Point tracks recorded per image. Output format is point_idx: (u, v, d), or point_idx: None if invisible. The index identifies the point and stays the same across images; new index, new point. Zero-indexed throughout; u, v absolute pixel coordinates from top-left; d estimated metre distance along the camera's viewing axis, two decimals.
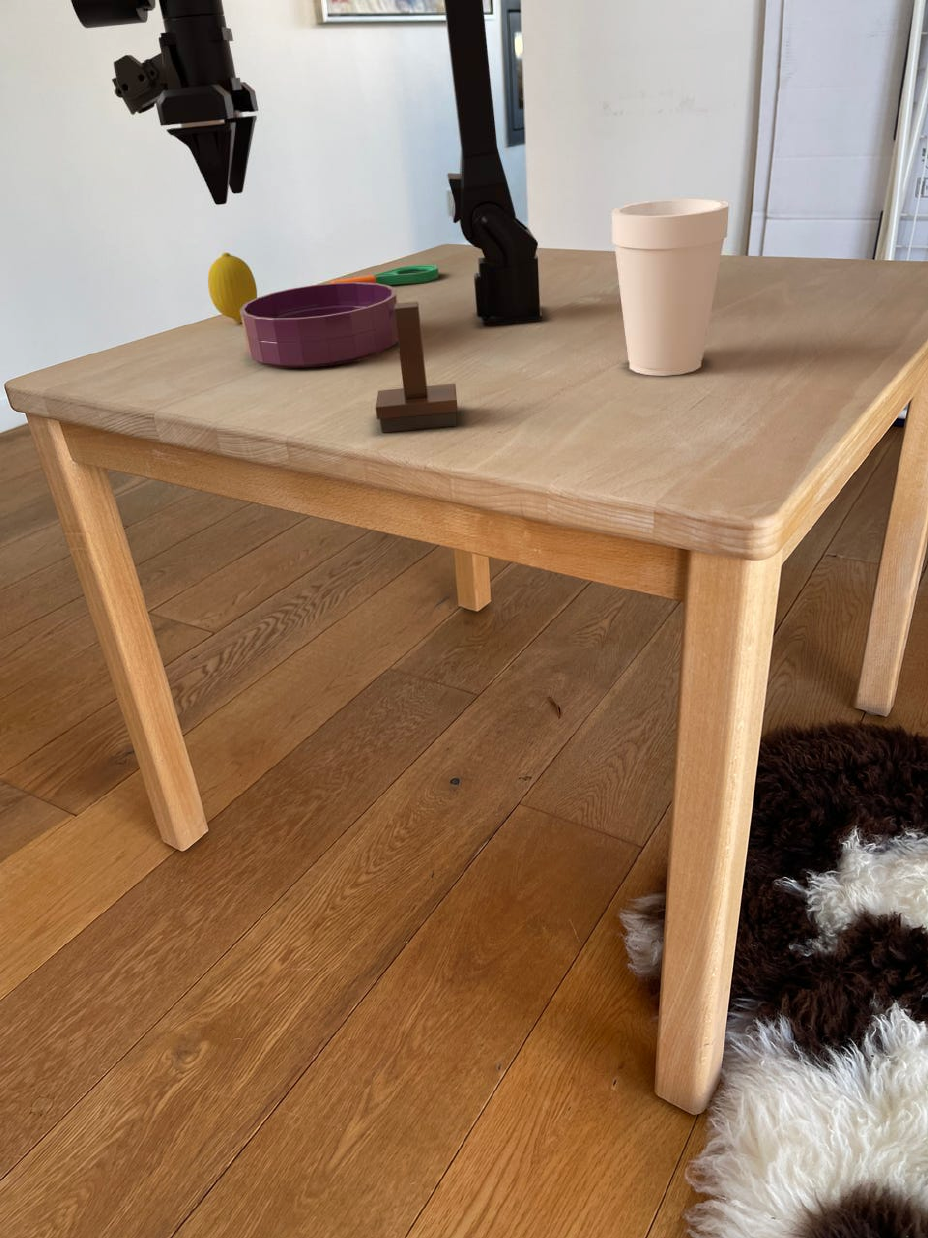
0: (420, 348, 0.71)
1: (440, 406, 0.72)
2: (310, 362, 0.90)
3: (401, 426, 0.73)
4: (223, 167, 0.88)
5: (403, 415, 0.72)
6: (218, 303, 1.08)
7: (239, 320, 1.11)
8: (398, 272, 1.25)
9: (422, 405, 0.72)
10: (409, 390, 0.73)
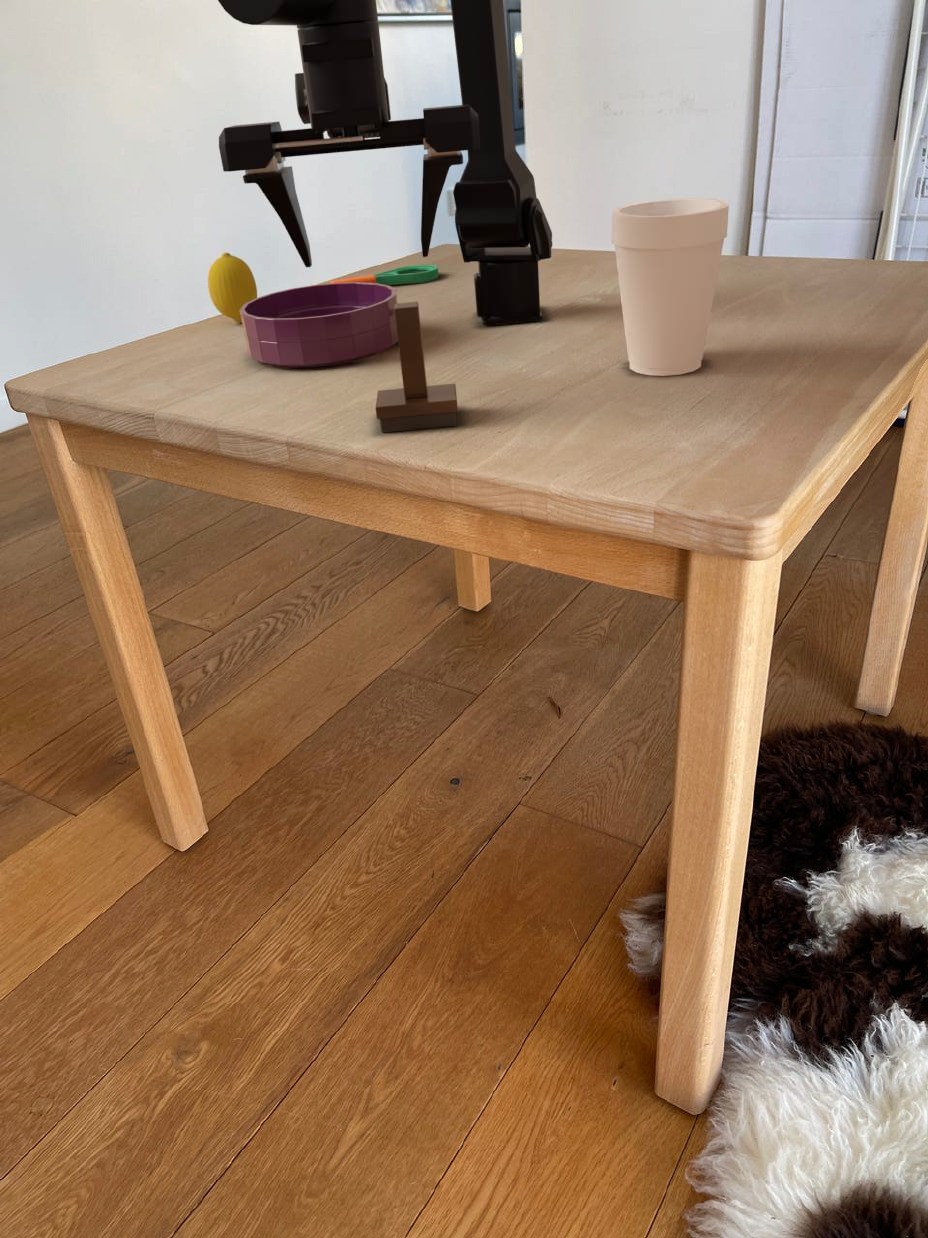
0: (420, 348, 0.71)
1: (440, 406, 0.72)
2: (310, 362, 0.90)
3: (401, 426, 0.73)
4: None
5: (403, 415, 0.72)
6: (218, 303, 1.08)
7: (239, 320, 1.11)
8: (398, 272, 1.25)
9: (422, 405, 0.72)
10: (409, 390, 0.73)
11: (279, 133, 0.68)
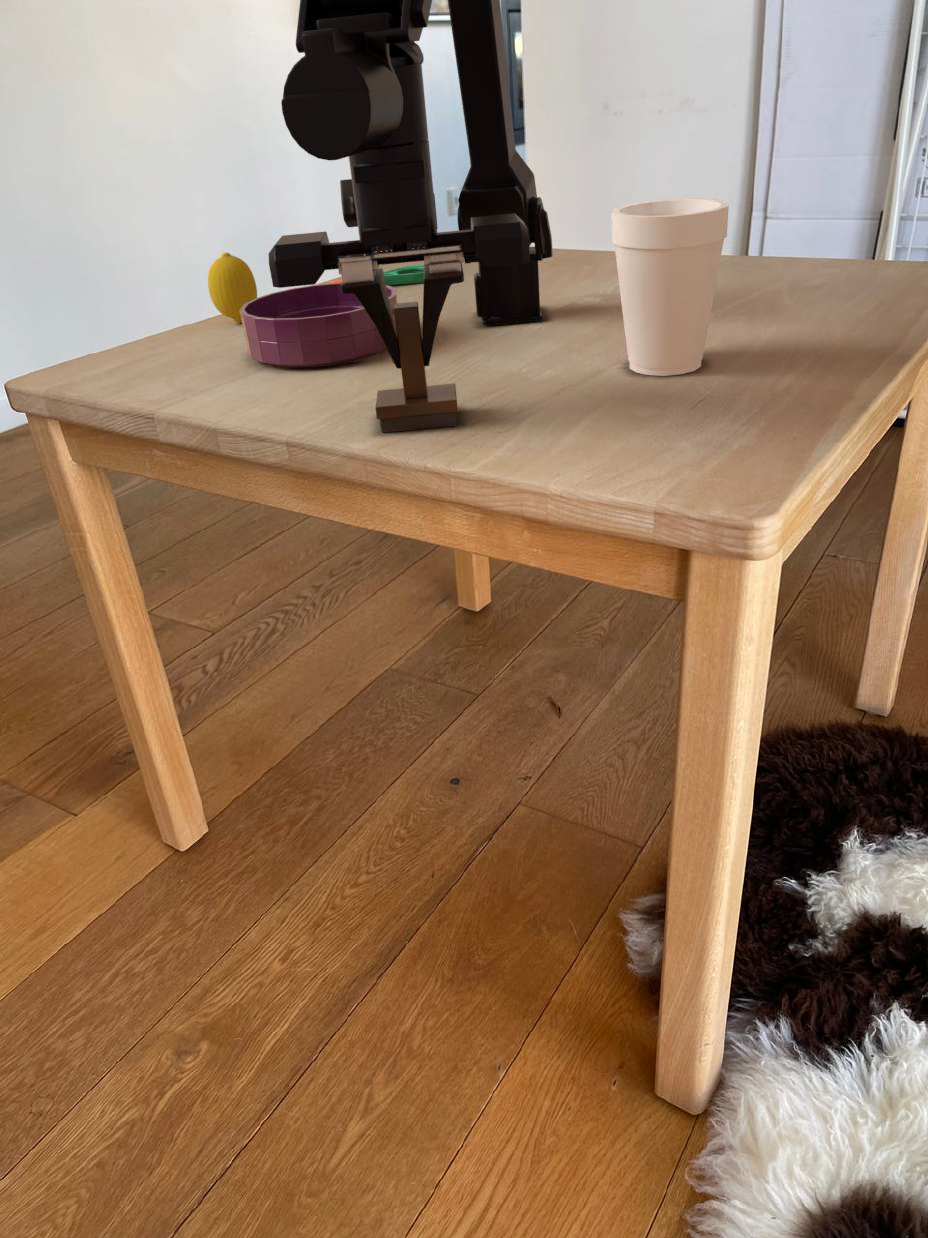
0: (420, 348, 0.71)
1: (440, 406, 0.72)
2: (310, 362, 0.90)
3: (401, 426, 0.73)
4: None
5: (403, 415, 0.72)
6: (218, 303, 1.08)
7: (239, 320, 1.11)
8: (398, 272, 1.25)
9: (422, 405, 0.72)
10: (409, 390, 0.73)
11: (328, 247, 0.67)
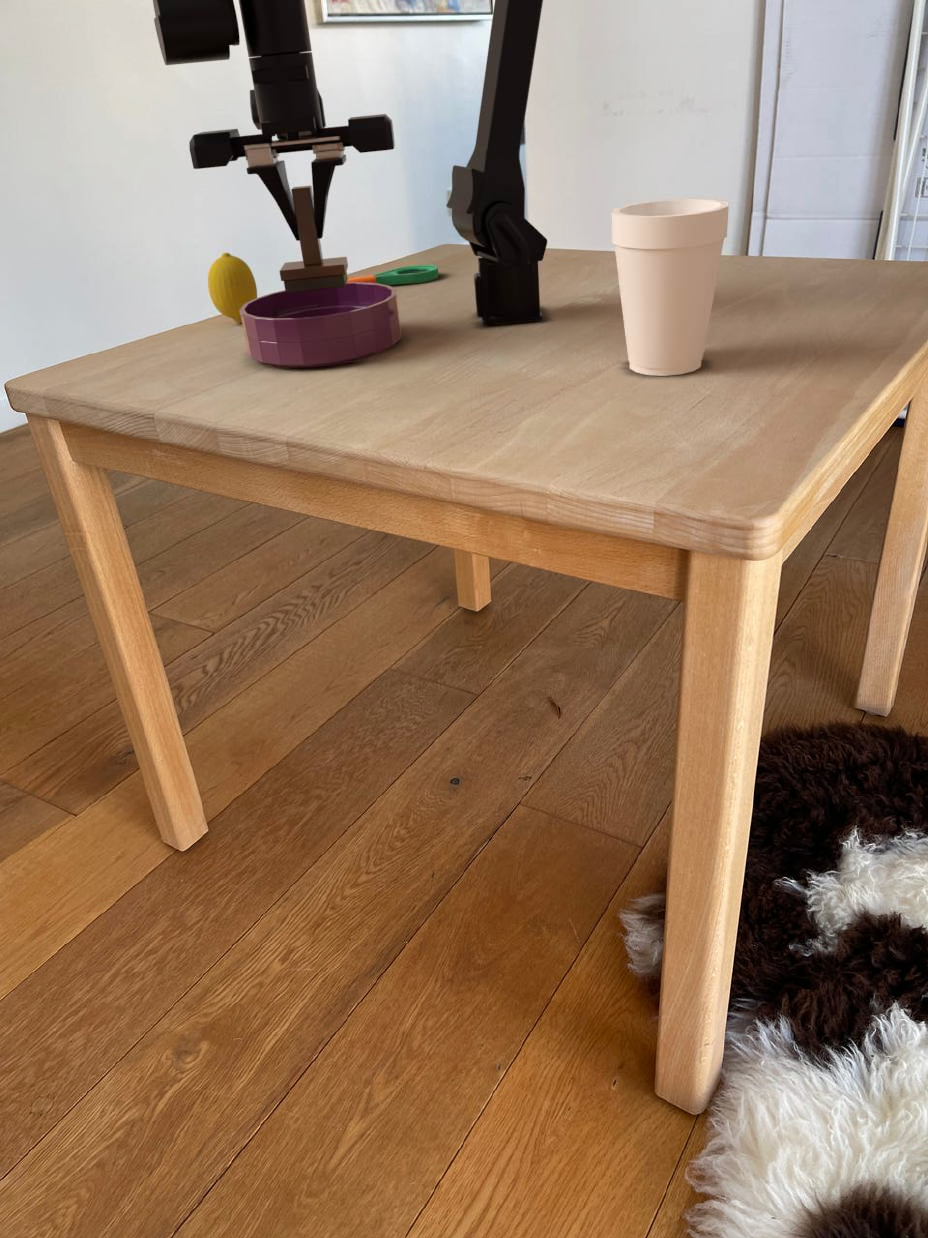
0: (313, 222, 0.90)
1: (331, 269, 0.91)
2: (310, 362, 0.90)
3: (301, 287, 0.92)
4: None
5: (302, 277, 0.91)
6: (218, 303, 1.08)
7: (239, 320, 1.11)
8: (398, 272, 1.25)
9: (316, 268, 0.91)
10: (307, 258, 0.92)
11: (237, 138, 0.86)
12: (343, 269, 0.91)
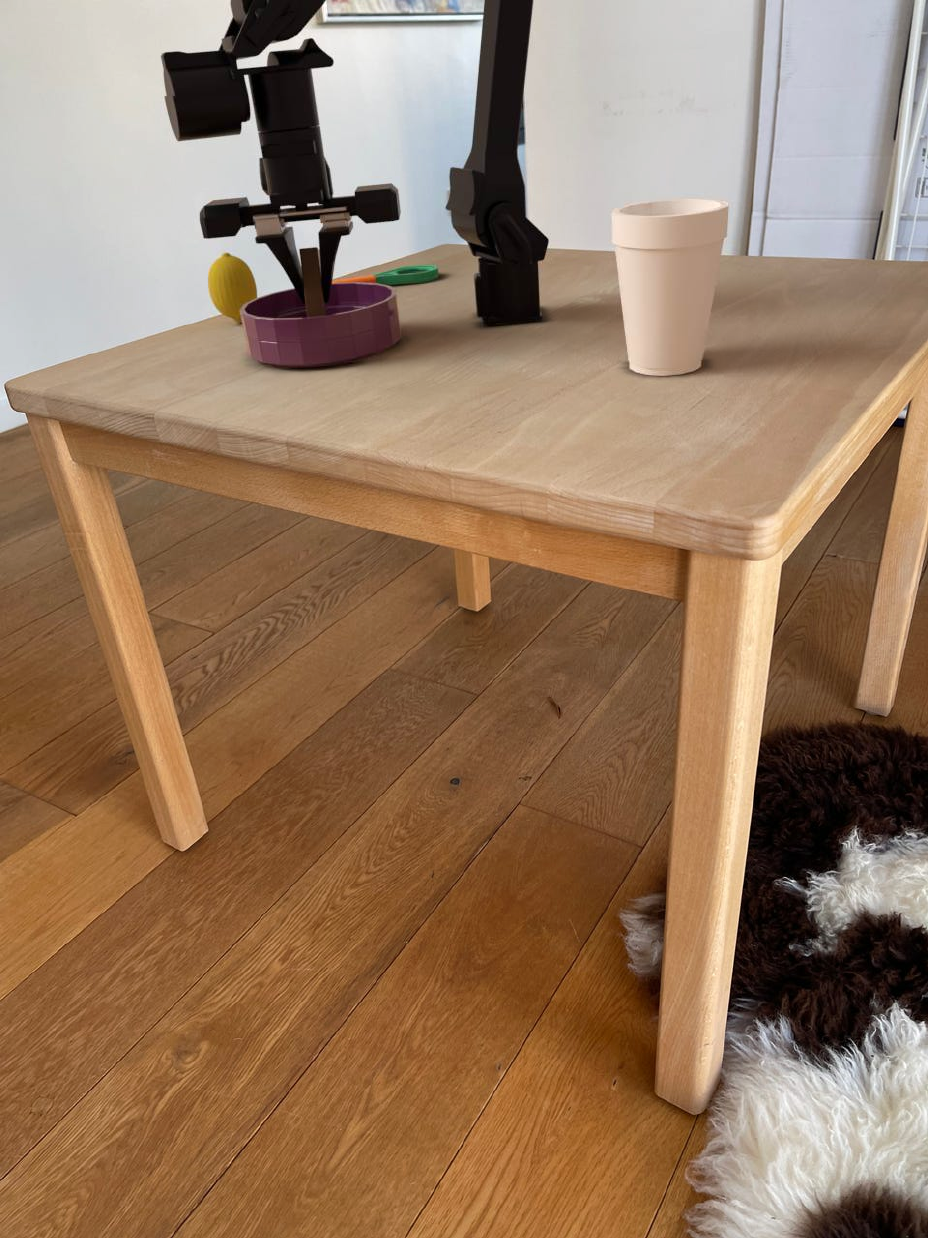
0: (319, 280, 0.91)
1: None
2: (310, 362, 0.90)
3: None
4: (287, 273, 0.91)
5: None
6: (218, 303, 1.08)
7: (239, 320, 1.11)
8: (398, 272, 1.25)
9: None
10: (311, 314, 0.92)
11: (246, 208, 0.88)
12: None
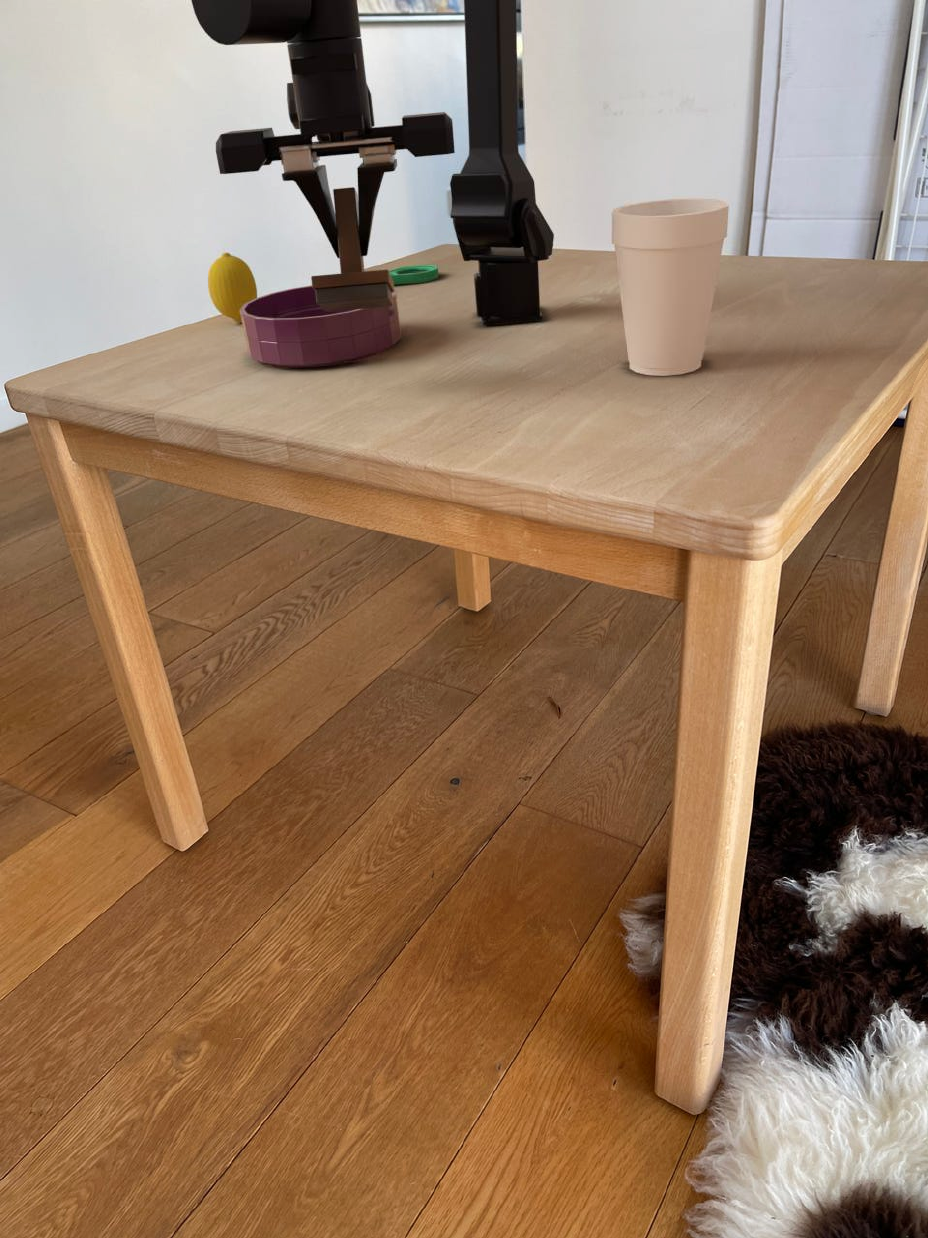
0: (356, 226, 0.77)
1: (372, 275, 0.76)
2: (310, 362, 0.90)
3: (335, 297, 0.77)
4: None
5: (337, 284, 0.76)
6: (218, 303, 1.08)
7: (239, 320, 1.11)
8: (398, 272, 1.25)
9: (355, 274, 0.76)
10: (345, 267, 0.77)
11: (271, 139, 0.74)
12: (387, 275, 0.76)
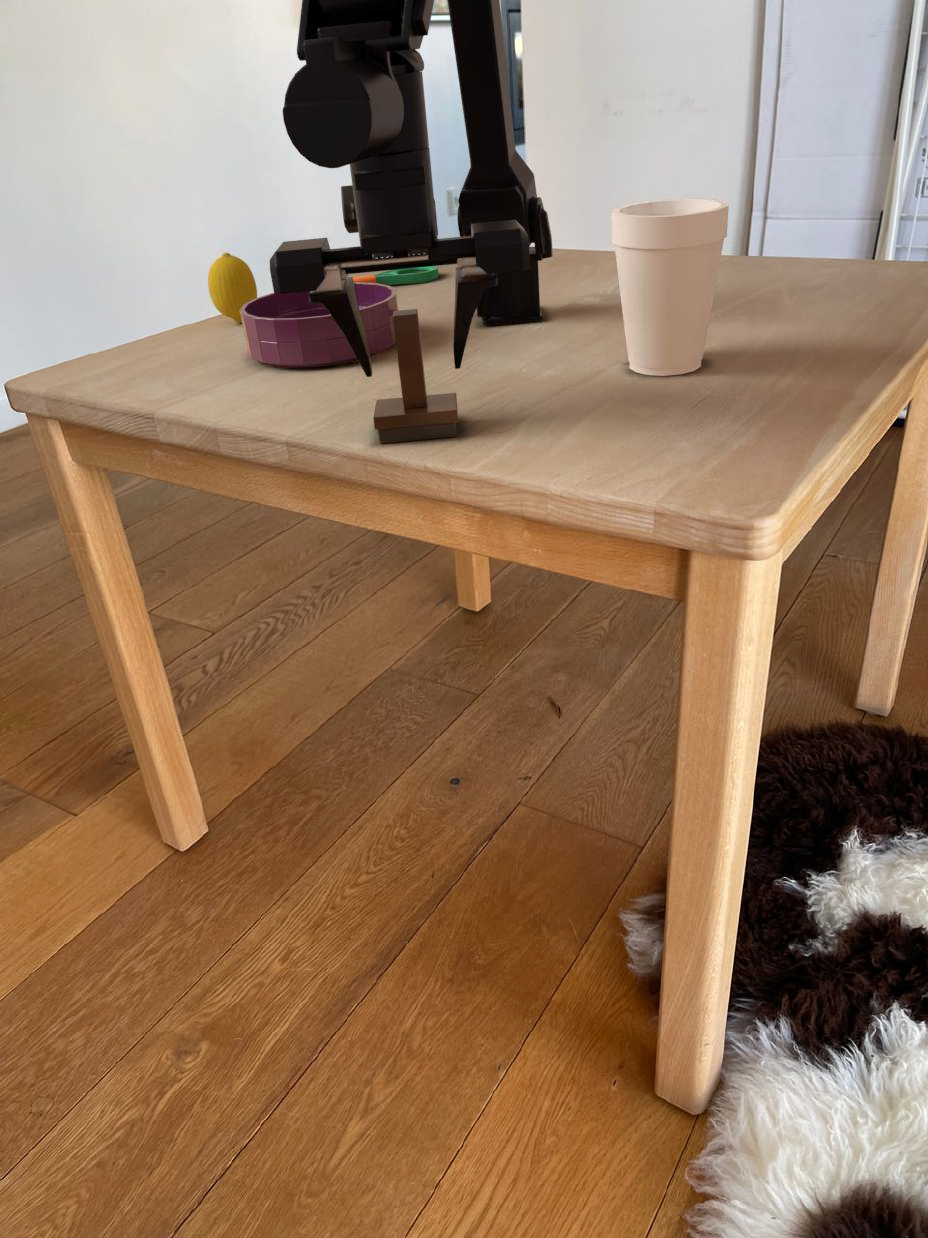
0: (419, 357, 0.69)
1: (440, 416, 0.70)
2: (310, 362, 0.90)
3: (400, 437, 0.71)
4: None
5: (402, 426, 0.70)
6: (218, 303, 1.08)
7: (239, 320, 1.11)
8: (398, 272, 1.25)
9: (421, 415, 0.70)
10: (408, 400, 0.71)
11: (329, 253, 0.68)
12: (456, 416, 0.70)
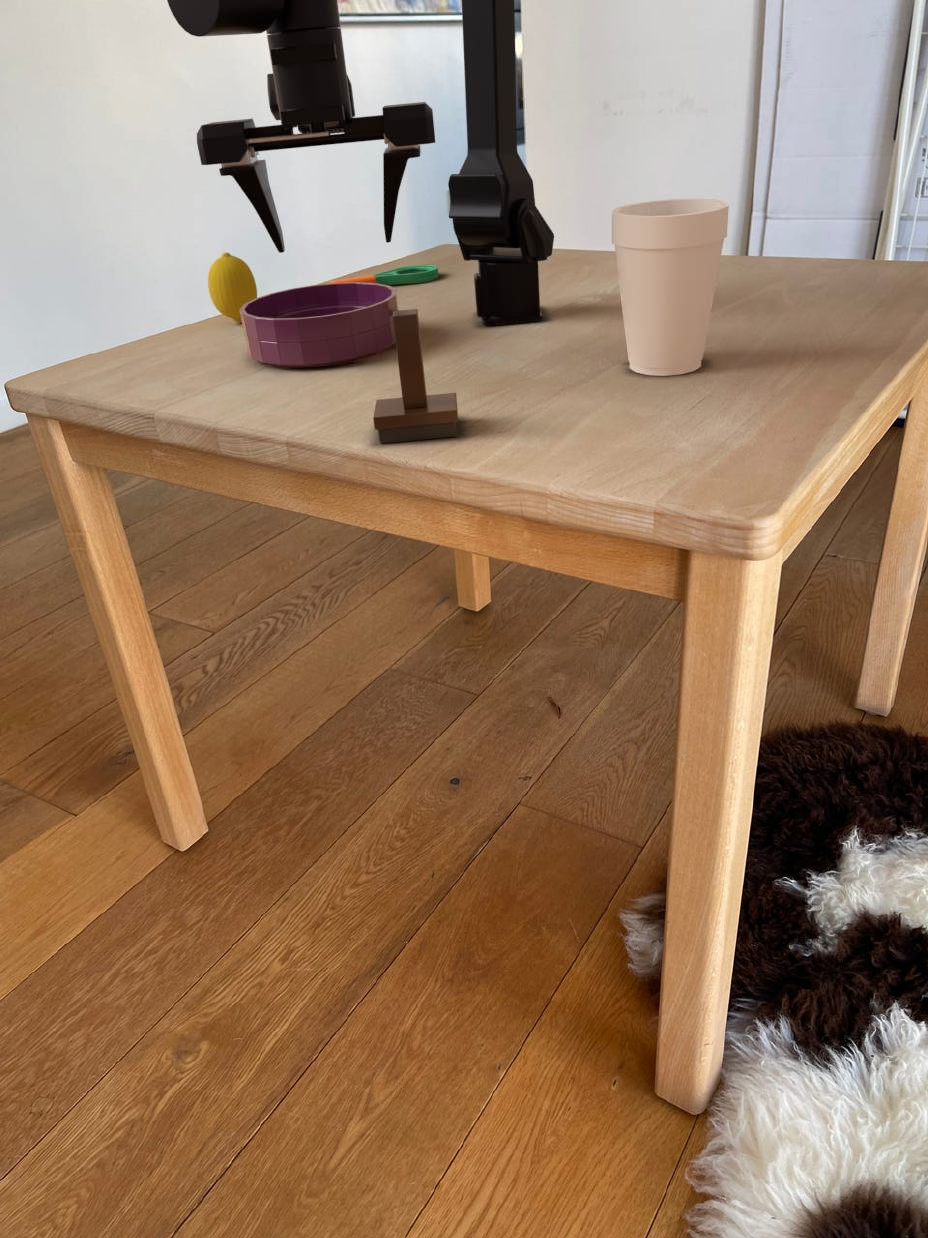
0: (419, 357, 0.69)
1: (440, 416, 0.70)
2: (310, 362, 0.90)
3: (400, 437, 0.71)
4: None
5: (402, 425, 0.70)
6: (218, 303, 1.08)
7: (239, 320, 1.11)
8: (398, 272, 1.25)
9: (421, 415, 0.70)
10: (408, 400, 0.71)
11: (252, 129, 0.74)
12: (456, 416, 0.70)
